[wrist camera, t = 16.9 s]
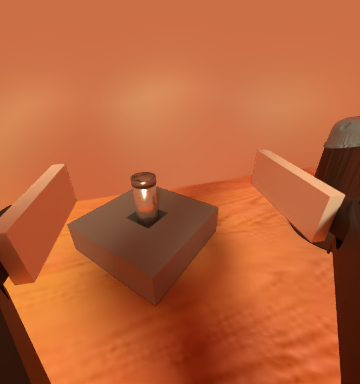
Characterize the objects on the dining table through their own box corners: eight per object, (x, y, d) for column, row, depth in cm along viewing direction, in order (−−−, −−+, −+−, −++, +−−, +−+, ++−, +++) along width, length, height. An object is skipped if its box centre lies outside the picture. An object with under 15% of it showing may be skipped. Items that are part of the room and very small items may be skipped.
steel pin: (149, 230, 44) (142, 170, 37) (164, 237, 42) (160, 175, 35) (135, 241, 41) (125, 178, 34) (150, 250, 39) (143, 184, 32)
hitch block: (146, 202, 53) (144, 182, 50) (215, 230, 44) (218, 207, 41) (75, 249, 39) (67, 224, 36) (155, 306, 29) (152, 278, 26)
